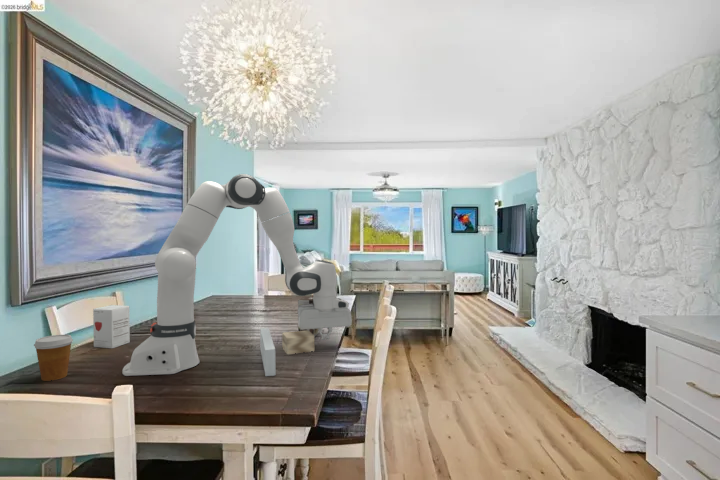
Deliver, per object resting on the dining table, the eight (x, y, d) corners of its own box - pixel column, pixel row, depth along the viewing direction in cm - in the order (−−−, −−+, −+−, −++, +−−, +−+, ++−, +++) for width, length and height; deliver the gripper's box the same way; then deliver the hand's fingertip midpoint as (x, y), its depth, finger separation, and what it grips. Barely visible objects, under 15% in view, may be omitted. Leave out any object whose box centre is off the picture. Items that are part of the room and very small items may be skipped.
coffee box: (312, 339, 166) (312, 299, 166) (297, 338, 167) (297, 299, 167) (319, 333, 175) (318, 296, 175) (304, 333, 176) (304, 296, 176)
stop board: (265, 376, 123) (265, 350, 123) (260, 349, 152) (260, 328, 152) (275, 375, 124) (275, 349, 124) (268, 348, 153) (268, 327, 153)
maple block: (287, 355, 145) (287, 338, 145) (282, 348, 154) (282, 332, 154) (314, 351, 149) (314, 335, 149) (308, 345, 157) (308, 330, 157)
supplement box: (92, 347, 157) (91, 308, 156) (112, 341, 165) (111, 304, 165) (112, 348, 154) (111, 309, 154) (130, 342, 163) (130, 305, 163)
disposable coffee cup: (28, 384, 118) (27, 343, 118) (43, 373, 127) (42, 335, 127) (66, 381, 120) (65, 340, 120) (78, 370, 130) (77, 333, 129)
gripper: (298, 305, 148) (298, 343, 148) (352, 302, 154) (352, 339, 154) (296, 303, 154) (296, 339, 154) (348, 300, 160) (348, 335, 160)
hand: (325, 339), depth 154 cm, fingers closed
